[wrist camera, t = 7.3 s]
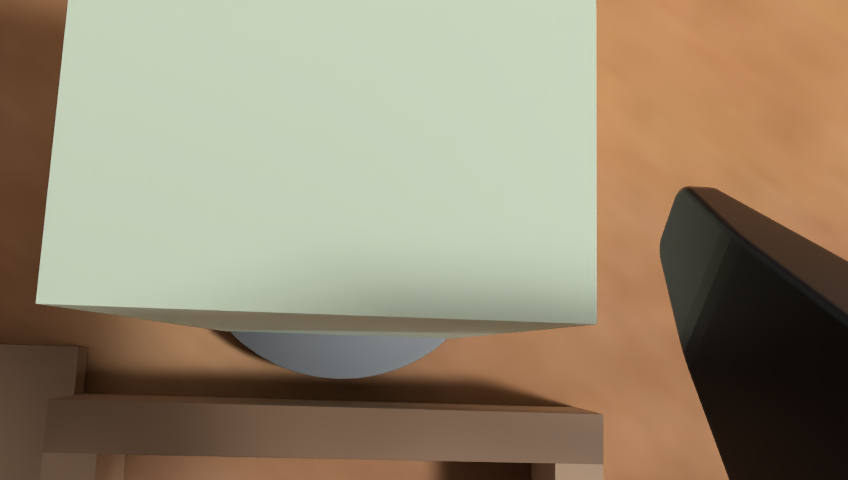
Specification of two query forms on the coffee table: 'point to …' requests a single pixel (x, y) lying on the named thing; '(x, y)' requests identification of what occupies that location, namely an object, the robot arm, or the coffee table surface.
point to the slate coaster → (337, 352)
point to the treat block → (326, 165)
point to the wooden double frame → (263, 427)
